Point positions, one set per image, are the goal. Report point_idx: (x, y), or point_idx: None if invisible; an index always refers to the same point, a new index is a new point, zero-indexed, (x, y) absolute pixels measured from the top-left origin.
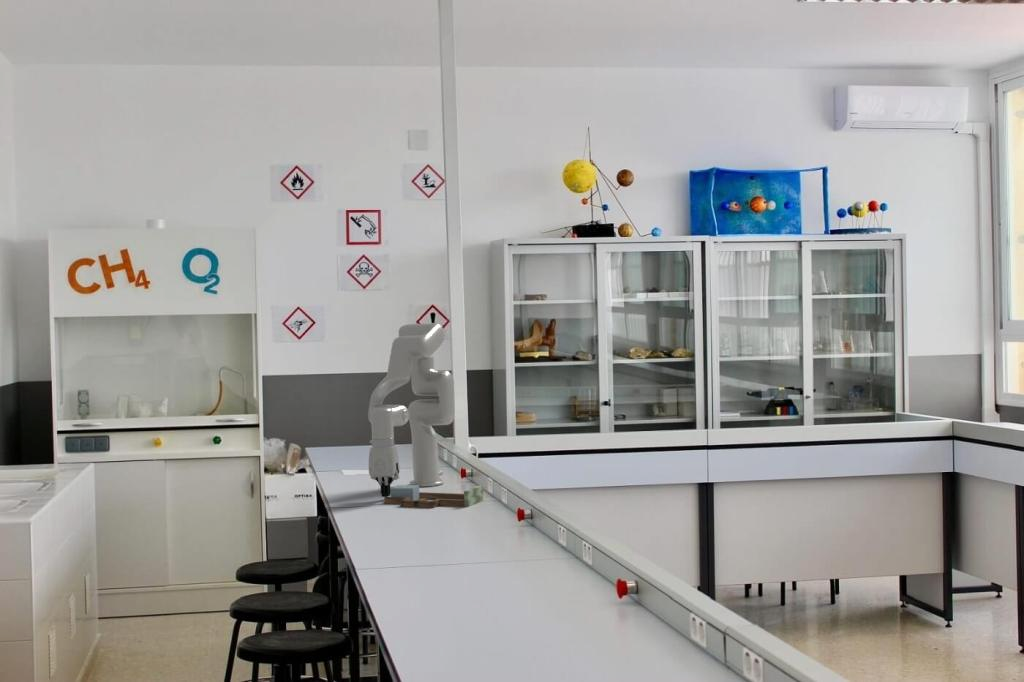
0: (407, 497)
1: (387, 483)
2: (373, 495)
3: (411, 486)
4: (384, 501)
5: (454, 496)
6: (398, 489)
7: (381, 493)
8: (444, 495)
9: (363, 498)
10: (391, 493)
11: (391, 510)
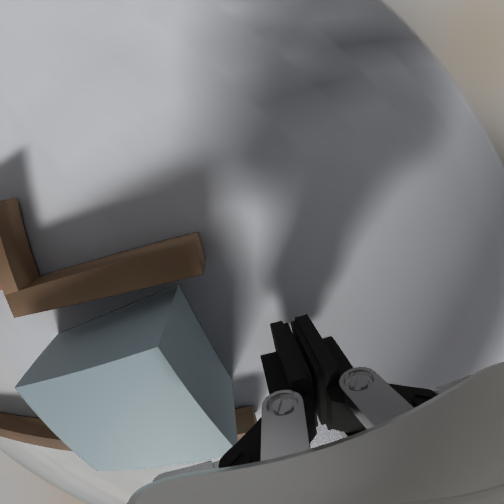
0: (68, 342)
1: (265, 411)
2: (431, 375)
3: (89, 442)
4: (195, 235)
5: (1, 422)
6: (93, 361)
7: (312, 325)
8: (25, 428)
9: (446, 306)
10: (163, 320)
11: (11, 99)
